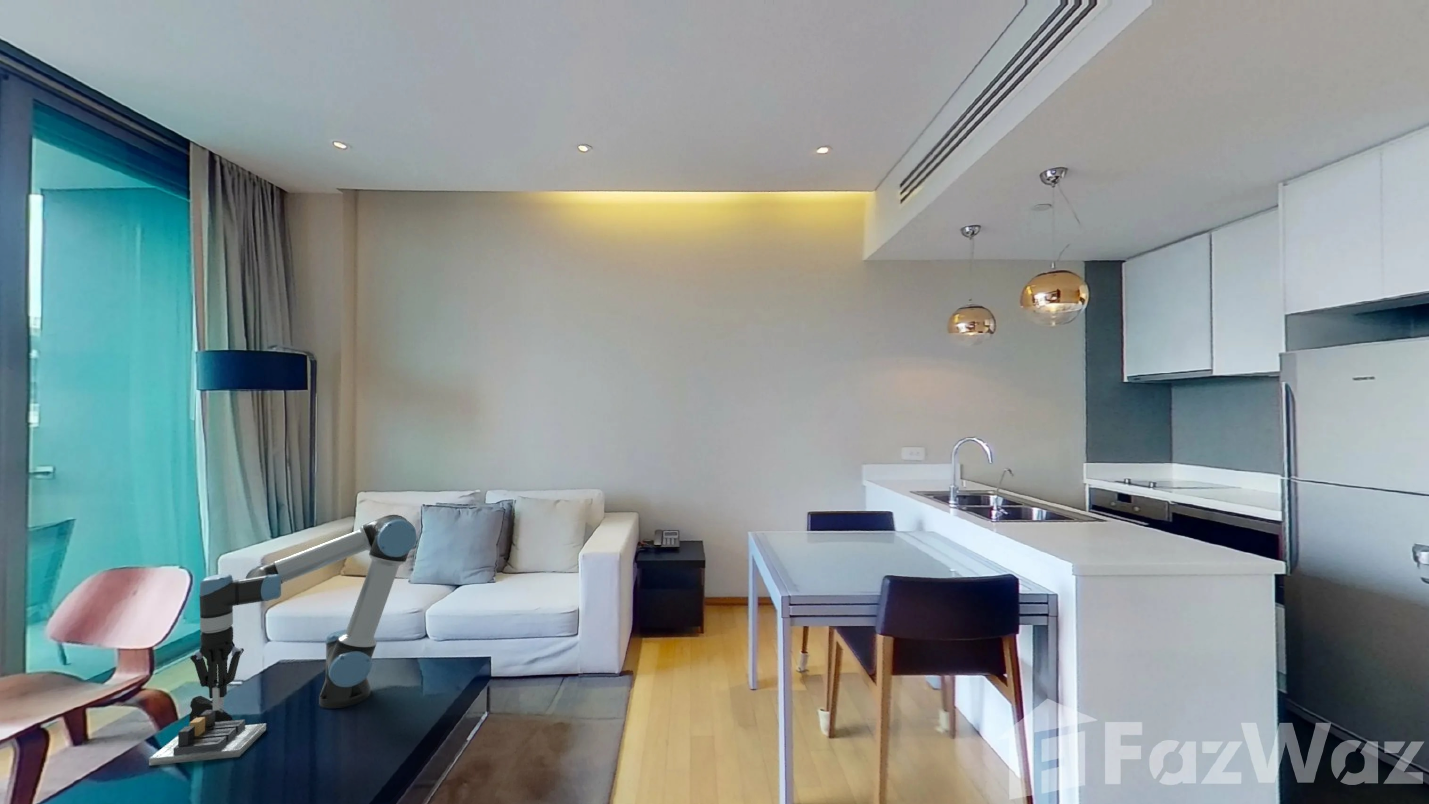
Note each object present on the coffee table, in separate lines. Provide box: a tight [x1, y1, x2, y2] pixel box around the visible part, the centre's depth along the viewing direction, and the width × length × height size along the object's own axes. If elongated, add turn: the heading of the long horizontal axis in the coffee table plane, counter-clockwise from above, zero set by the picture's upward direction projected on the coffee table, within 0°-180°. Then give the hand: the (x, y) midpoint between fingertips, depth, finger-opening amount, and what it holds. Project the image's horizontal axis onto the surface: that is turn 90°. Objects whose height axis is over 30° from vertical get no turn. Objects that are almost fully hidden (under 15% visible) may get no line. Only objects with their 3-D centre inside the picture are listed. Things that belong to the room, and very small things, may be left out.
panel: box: [148, 710, 267, 766], centre depth 179 cm, size 22×15×8 cm
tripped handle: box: [188, 717, 205, 736], centre depth 178 cm, size 2×3×4 cm
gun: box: [188, 695, 234, 723], centre depth 190 cm, size 3×16×10 cm, turn 79°
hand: (218, 708), depth 180 cm, fingers closed
